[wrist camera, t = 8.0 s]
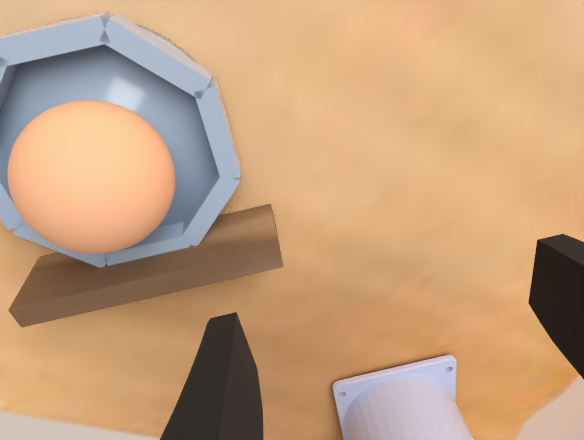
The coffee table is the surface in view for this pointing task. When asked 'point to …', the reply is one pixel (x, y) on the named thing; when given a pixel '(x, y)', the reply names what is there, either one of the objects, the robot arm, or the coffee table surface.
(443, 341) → the coffee table surface
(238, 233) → the wooden block
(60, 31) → the dish
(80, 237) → the ball
